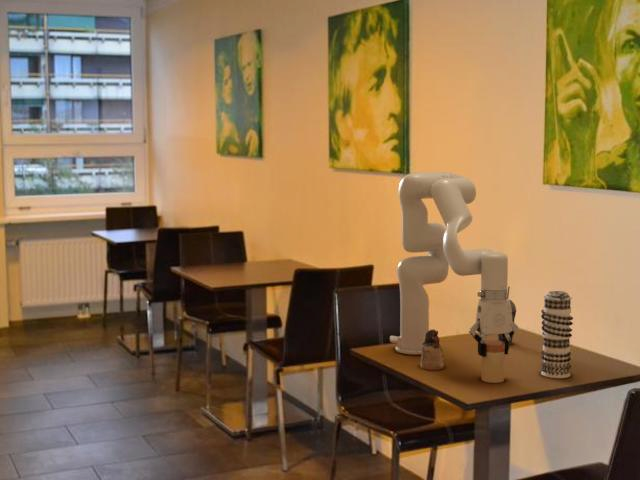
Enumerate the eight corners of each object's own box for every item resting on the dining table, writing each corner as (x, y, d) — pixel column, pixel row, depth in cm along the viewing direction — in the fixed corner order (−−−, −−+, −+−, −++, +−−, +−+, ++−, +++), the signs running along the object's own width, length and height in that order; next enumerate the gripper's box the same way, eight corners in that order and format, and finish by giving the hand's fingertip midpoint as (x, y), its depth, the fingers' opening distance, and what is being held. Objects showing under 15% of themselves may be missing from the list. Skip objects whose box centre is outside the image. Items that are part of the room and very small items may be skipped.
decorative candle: (535, 370, 272) (537, 290, 269) (564, 369, 273) (567, 289, 270) (545, 379, 263) (547, 295, 260) (576, 378, 264) (578, 294, 261)
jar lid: (489, 352, 258) (489, 346, 257) (477, 347, 264) (477, 341, 264) (509, 350, 260) (509, 343, 260) (497, 345, 266) (497, 338, 266)
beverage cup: (502, 340, 312) (503, 283, 310) (520, 343, 307) (521, 286, 304) (489, 343, 307) (490, 286, 305) (507, 347, 302) (508, 289, 299)
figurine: (437, 363, 282) (437, 326, 280) (447, 368, 275) (448, 330, 274) (416, 365, 279) (416, 327, 278) (427, 371, 273) (427, 332, 271)
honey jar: (478, 381, 262) (478, 345, 260) (485, 375, 268) (485, 341, 266) (500, 383, 259) (500, 348, 257) (506, 378, 264) (507, 343, 263)
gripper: (474, 299, 253) (473, 360, 256) (526, 294, 259) (525, 354, 262) (461, 294, 260) (460, 354, 263) (512, 290, 266) (511, 349, 269)
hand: (493, 354), depth 262 cm, fingers closed on jar lid, 6 cm apart
